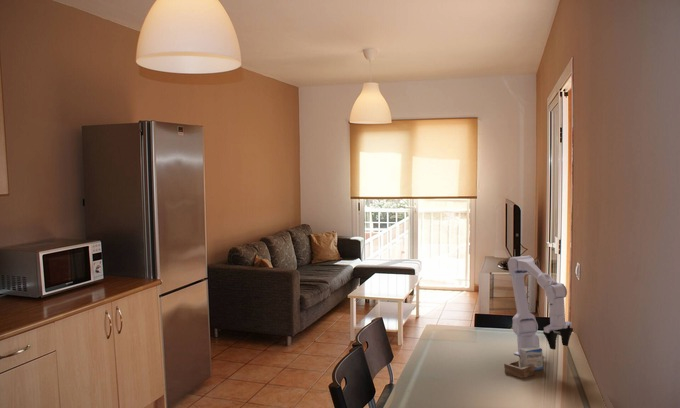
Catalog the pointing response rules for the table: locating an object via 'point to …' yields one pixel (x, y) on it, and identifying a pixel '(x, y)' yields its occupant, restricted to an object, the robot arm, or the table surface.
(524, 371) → the open wooden box
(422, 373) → the table surface
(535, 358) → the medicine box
